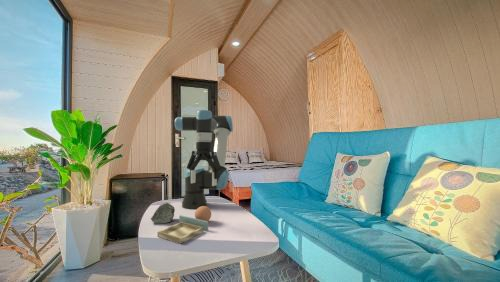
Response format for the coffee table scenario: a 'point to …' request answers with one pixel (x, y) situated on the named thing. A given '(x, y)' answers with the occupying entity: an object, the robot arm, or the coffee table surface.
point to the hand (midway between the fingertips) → (203, 184)
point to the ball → (203, 213)
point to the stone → (163, 214)
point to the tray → (180, 232)
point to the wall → (194, 222)
